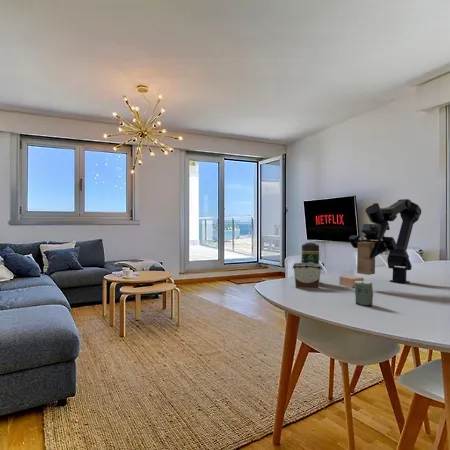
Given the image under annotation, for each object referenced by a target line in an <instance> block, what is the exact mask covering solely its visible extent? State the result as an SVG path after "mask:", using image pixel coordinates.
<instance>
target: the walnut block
mask: <svg viewBox="0 0 450 450" xmlns="http://www.w3.org/2000/svg"><path fill="white" fill-rule="evenodd" d="M374 247H375V242H358V248H357V251H356V252H357V253H356V255H357V257H356V258H357V259H356V260H357V261H356V264H357V266H356V274H359V275H366V276H367V275H368V276H369V275H370V276H371V275H375V274H376V257H374V258H372V259H371V258H370V256H371V253H372V251H373V249H374Z"/></svg>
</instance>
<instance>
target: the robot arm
mask: <svg viewBox="0 0 450 450" xmlns="http://www.w3.org/2000/svg"><path fill="white" fill-rule="evenodd" d="M364 212H365V214H366V216H367V217H368V219H369V221H370V223H362V225H361V229H360V232H361V233H363V236H364V238H363V237H361V235H350V236H349V237H348V241H349V242H350V244H351V246H352V248H354V249H358V242H375V247H374V249H373V251H372V253H371V256H370V258H371V259H372V258H374V257H375V258H376V257H377V256H379V255H380V254H383V253H384V252H387V251H389V253H388V254H387V258H386V259H387V266H388V269H392V279H389V280H388V281H389V282H390V283H398V284H407V283H411V281H410V280H407V271H411V270H412V268H413V267H412V266H413V265H412V263H411V261H410V259H409V257H410V256H409V254H408V251H407V250H408V246H409V242H410V239H411V234H412V231H413V226H414V225H415V223H416V222H417V221H419V219H420V216H421V214H422V208H421V207H420V205H419V204H417V203H415V202H413V201H412V200H411V199H409V198H405V199H398V200H397V201H396V202H394V203H393V204H391V205H389V206H388V207H387V206H386V207H382V208H381V207H380V205H379V203H377V202H375V203H373V204H371V205H369V206H367V207H366V208H365V210H364ZM398 214H400V218H401V220H402V222H401V225H400V229H399V234H398V236H397V241H396V240H395V237H393V236H385V234H386V231H390V224H389V222H394V221H395V220H396V219H397V218H398Z"/></svg>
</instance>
